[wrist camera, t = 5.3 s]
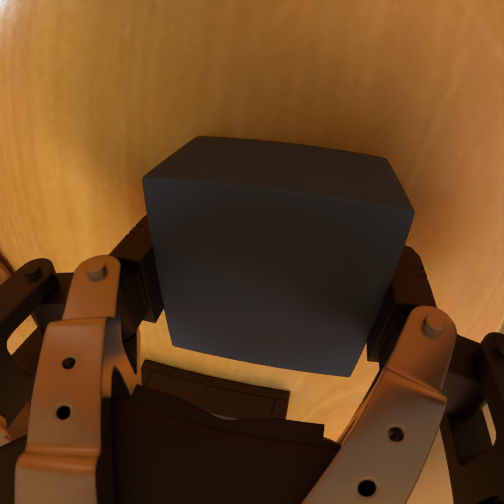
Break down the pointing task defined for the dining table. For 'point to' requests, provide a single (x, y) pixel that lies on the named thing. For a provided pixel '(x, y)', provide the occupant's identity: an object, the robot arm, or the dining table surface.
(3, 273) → the soda can
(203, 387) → the socket
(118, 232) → the dining table surface
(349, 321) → the dark grey square block
